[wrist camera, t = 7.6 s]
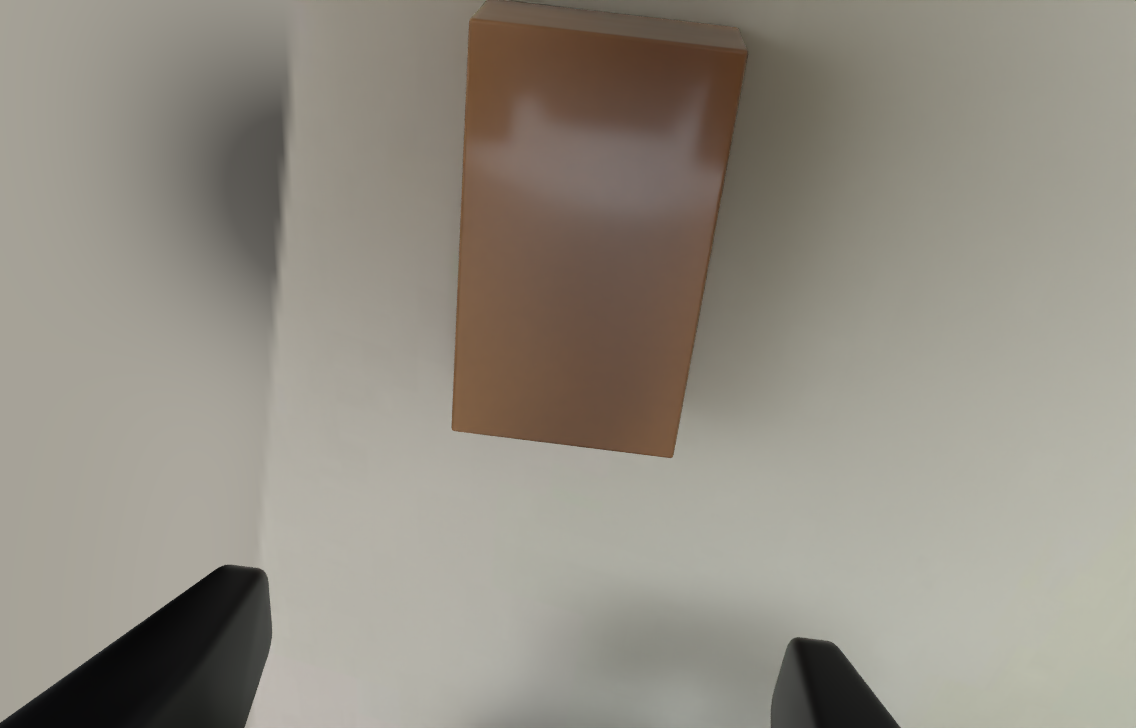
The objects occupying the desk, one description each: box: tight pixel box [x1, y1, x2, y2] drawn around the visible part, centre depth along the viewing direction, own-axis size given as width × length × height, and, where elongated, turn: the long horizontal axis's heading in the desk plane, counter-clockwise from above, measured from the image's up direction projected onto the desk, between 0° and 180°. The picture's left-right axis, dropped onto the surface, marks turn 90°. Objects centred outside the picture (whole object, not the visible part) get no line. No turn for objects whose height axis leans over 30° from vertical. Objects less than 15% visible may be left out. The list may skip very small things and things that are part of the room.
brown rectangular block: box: [452, 0, 748, 458], centre depth 18 cm, size 4×8×2 cm, turn 175°
